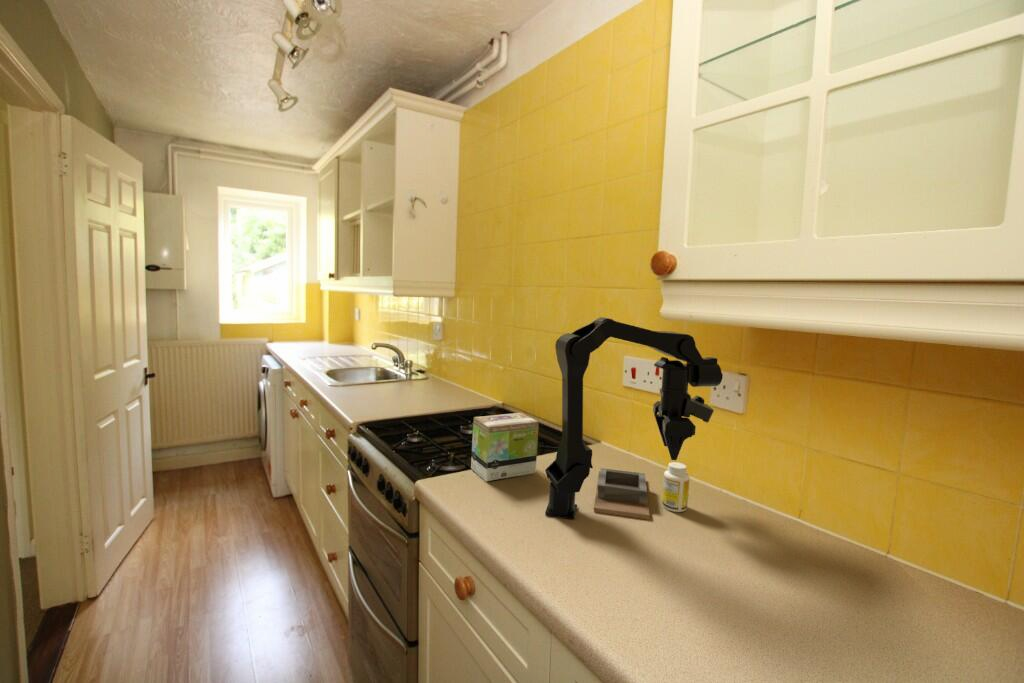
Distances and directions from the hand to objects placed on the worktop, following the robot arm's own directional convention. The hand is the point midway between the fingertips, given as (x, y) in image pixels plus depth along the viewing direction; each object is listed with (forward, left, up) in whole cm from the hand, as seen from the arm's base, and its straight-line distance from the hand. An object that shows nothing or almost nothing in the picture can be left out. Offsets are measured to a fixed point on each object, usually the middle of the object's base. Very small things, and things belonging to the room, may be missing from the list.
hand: (670, 452), depth 109 cm
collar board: (+1, +10, -12) cm, 16 cm away
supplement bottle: (-2, -2, -13) cm, 13 cm away
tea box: (+6, +41, -13) cm, 44 cm away
